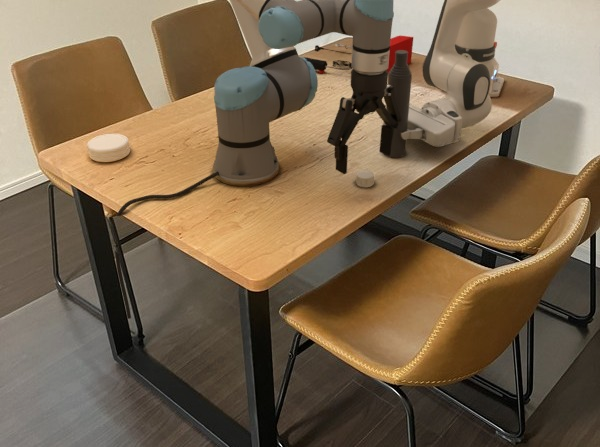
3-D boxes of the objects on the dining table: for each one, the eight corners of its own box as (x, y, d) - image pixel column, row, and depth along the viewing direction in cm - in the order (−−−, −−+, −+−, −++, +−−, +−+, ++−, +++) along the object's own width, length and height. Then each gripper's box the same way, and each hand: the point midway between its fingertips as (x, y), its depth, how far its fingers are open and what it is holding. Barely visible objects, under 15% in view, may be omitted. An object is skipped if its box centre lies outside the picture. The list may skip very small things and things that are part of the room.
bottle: (408, 155, 152) (417, 54, 138) (388, 159, 150) (396, 56, 137) (399, 147, 156) (407, 47, 142) (379, 150, 154) (385, 49, 141)
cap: (374, 179, 142) (374, 170, 140) (373, 188, 138) (374, 179, 137) (356, 178, 142) (356, 169, 141) (355, 187, 139) (355, 178, 137)
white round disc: (100, 166, 148) (97, 153, 146) (82, 153, 155) (79, 140, 153) (137, 154, 154) (135, 141, 152) (119, 141, 160) (116, 129, 158)
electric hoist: (295, 37, 203) (374, 52, 188) (338, 23, 222) (414, 35, 207) (294, 67, 208) (372, 84, 193) (337, 51, 227) (411, 65, 212)
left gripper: (336, 88, 117) (333, 186, 129) (424, 61, 130) (414, 151, 142) (311, 77, 122) (309, 172, 133) (398, 52, 135) (390, 140, 147)
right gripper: (410, 94, 161) (367, 105, 155) (466, 119, 146) (422, 133, 140) (408, 116, 165) (366, 128, 158) (463, 144, 150) (419, 158, 144)
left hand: (363, 162), depth 138 cm, fingers open, 13 cm apart
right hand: (393, 130), depth 149 cm, fingers closed on bottle, 5 cm apart
